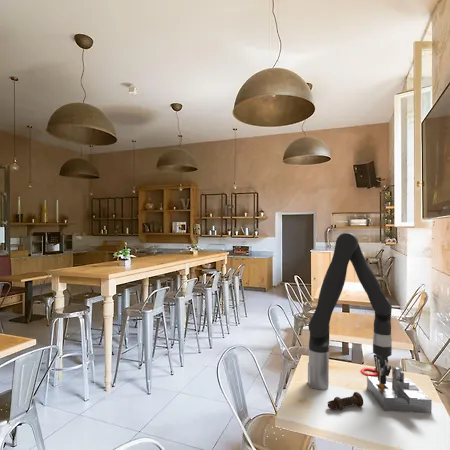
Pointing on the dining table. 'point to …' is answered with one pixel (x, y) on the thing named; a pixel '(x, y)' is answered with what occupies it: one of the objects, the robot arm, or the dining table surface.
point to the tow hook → (369, 370)
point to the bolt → (346, 401)
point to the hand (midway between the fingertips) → (381, 381)
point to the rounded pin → (381, 386)
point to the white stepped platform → (399, 394)
